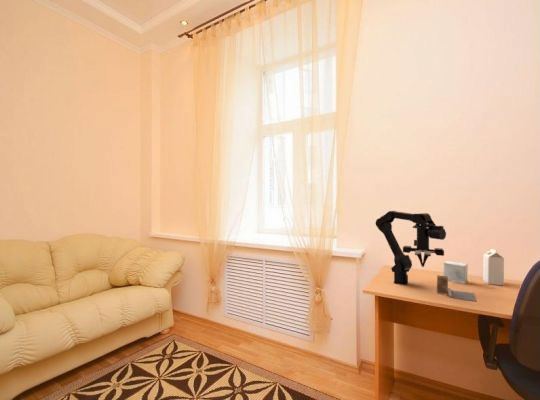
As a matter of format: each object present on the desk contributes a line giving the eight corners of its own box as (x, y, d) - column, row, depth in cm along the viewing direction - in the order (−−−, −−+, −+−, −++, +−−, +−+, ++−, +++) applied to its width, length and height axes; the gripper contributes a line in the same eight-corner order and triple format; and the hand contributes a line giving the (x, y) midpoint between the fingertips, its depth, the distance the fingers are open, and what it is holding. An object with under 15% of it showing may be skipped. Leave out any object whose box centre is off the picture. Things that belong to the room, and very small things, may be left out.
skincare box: (443, 280, 162) (443, 262, 162) (446, 277, 166) (446, 260, 166) (464, 284, 154) (464, 265, 154) (467, 282, 158) (467, 263, 158)
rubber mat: (453, 297, 134) (453, 297, 134) (452, 290, 144) (452, 290, 144) (476, 301, 129) (476, 301, 129) (473, 293, 139) (473, 293, 139)
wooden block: (437, 293, 140) (437, 277, 140) (437, 290, 144) (437, 275, 144) (447, 294, 138) (447, 278, 138) (447, 292, 142) (447, 276, 142)
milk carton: (497, 281, 158) (498, 248, 158) (503, 285, 151) (504, 250, 151) (483, 280, 160) (483, 247, 160) (488, 284, 154) (488, 250, 153)
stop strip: (448, 297, 135) (448, 295, 135) (447, 289, 145) (447, 288, 145) (451, 297, 134) (451, 295, 134) (450, 290, 144) (450, 288, 144)
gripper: (442, 236, 148) (442, 265, 148) (404, 234, 157) (403, 261, 157) (444, 239, 138) (444, 270, 139) (402, 236, 147) (402, 266, 148)
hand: (422, 266), depth 146 cm, fingers closed
